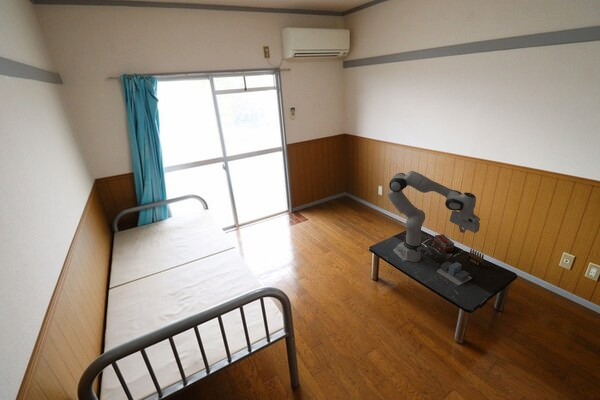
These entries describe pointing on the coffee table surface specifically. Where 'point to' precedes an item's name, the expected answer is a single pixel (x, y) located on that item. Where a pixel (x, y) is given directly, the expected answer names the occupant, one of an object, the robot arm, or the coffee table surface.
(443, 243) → the medicine box
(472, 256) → the ammunition clip
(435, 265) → the coffee table surface
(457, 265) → the block
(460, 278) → the board
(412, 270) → the coffee table surface
